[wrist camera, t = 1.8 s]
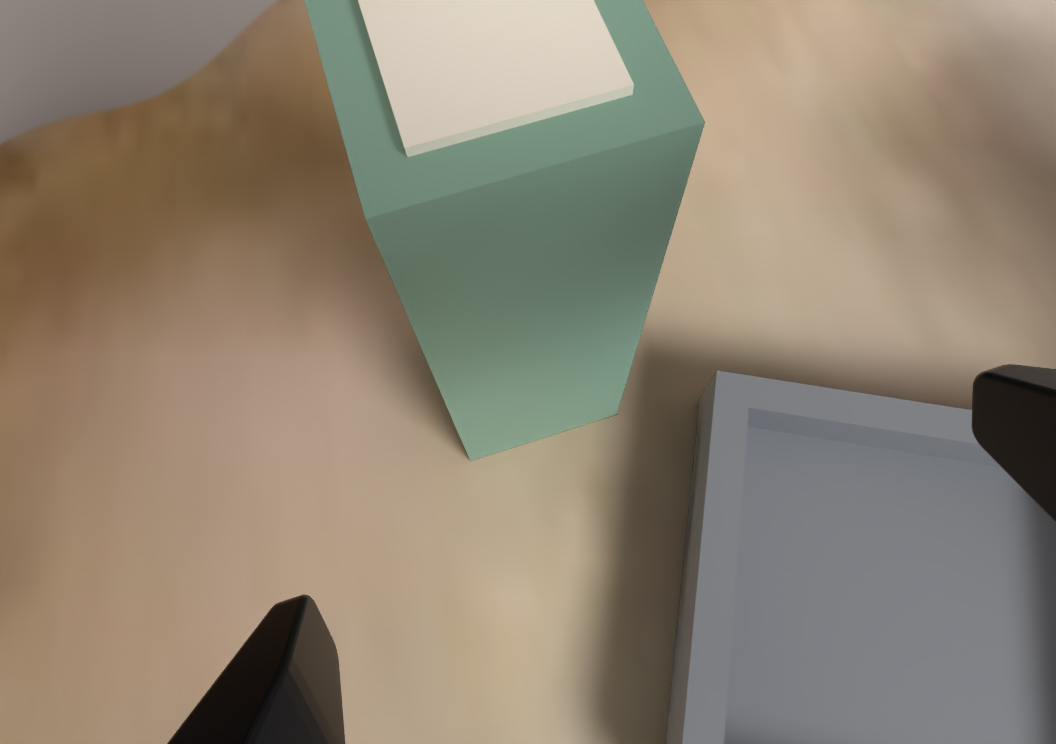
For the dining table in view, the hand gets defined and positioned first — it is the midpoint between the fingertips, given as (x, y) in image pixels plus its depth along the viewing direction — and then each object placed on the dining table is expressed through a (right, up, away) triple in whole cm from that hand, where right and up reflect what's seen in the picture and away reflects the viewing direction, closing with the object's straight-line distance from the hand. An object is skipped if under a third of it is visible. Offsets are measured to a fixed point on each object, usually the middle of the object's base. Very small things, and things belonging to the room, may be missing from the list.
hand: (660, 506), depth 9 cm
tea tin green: (-2, +2, +15) cm, 15 cm away
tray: (+9, -6, +12) cm, 16 cm away
